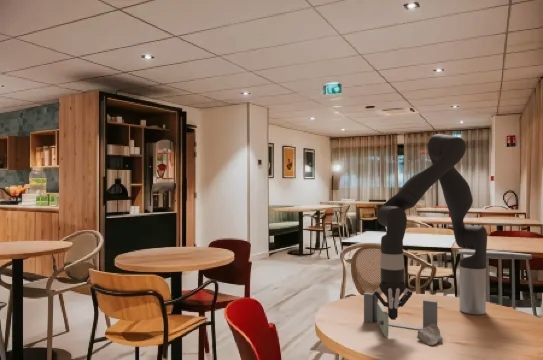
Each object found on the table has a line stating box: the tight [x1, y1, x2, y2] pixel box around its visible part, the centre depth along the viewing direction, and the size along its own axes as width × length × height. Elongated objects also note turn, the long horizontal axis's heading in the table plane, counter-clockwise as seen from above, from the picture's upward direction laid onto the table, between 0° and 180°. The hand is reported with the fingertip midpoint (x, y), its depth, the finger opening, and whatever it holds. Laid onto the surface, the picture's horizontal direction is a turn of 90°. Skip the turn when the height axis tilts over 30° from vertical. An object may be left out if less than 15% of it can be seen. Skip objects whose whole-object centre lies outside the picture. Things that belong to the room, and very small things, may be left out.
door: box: [376, 301, 389, 337], centre depth 142 cm, size 2×14×7 cm, turn 176°
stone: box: [416, 322, 444, 346], centre depth 135 cm, size 6×12×4 cm, turn 132°
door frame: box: [363, 292, 438, 331], centre depth 147 cm, size 3×24×10 cm, turn 64°
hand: (392, 319), depth 139 cm, fingers closed
